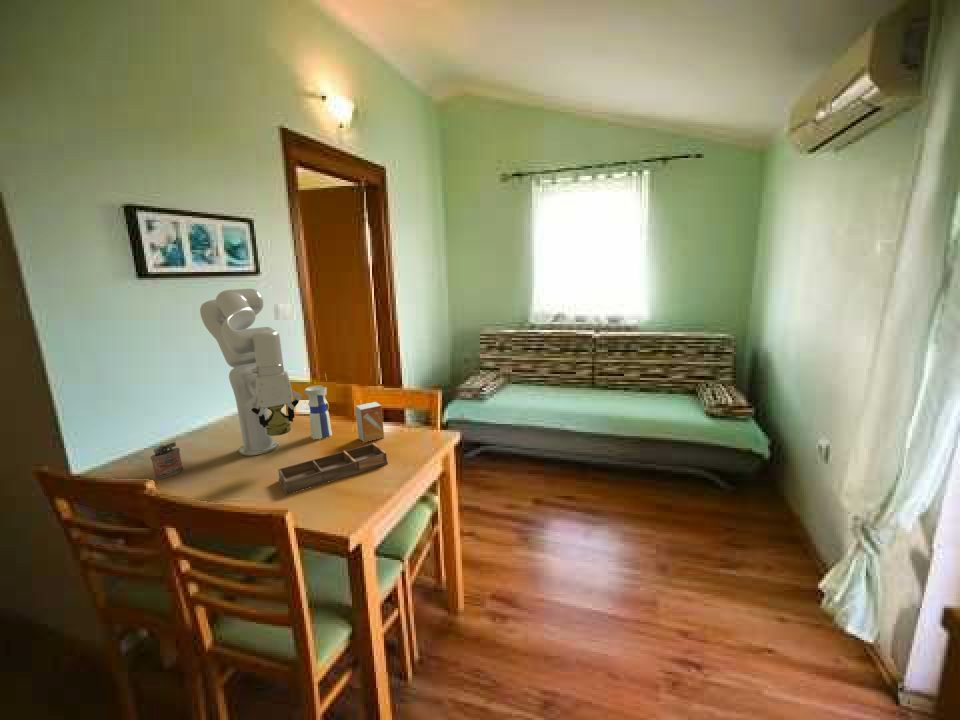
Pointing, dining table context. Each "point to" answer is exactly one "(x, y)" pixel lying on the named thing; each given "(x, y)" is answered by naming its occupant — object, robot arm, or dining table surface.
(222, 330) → the robot arm
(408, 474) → the dining table surface
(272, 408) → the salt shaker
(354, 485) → the dining table surface
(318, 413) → the water bottle
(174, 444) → the lighter
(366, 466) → the wooden compartment tray
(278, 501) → the dining table surface
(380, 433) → the small box
